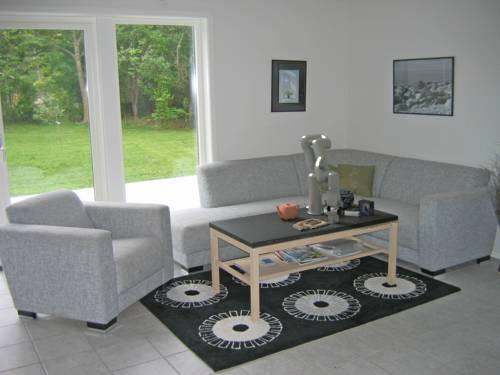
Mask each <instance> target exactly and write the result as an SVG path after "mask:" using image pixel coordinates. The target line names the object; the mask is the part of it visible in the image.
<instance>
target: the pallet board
mask: <svg viewBox="0 0 500 375" xmlns="http://www.w3.org/2000/svg"><path fill="white" fill-rule="evenodd" d="M298 222H299V221H298ZM298 222H296V223H295V224H297V223H298ZM300 222H303V224H306V225H308V229H309V228H311V229H310V230H313V229H312V228H315V229H318V228H322V227H324V226H325V227H326V226H329V225H330V223H329V222H328V221H323V220H321V219H316V218H314V217H313V218H309V219H306V220H301V221H300ZM328 224H329V225H328ZM321 226H322V227H321ZM317 227H318V228H317Z"/></svg>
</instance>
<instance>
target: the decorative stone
mask: <svg viewBox="0 0 500 375" xmlns="http://www.w3.org/2000/svg"><path fill="white" fill-rule="evenodd" d="M339 192H340V199H341V202H342V203H343V207H342V209H348V208H351V207H352V205H354V202H355V196H354V193H353V192H352V191H351V190H349V189H346V188H339ZM340 205H341V204H340ZM338 207H339V206H338Z"/></svg>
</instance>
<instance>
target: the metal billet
mask: <svg viewBox="0 0 500 375" xmlns="http://www.w3.org/2000/svg"><path fill="white" fill-rule="evenodd" d="M339 216H340V215H337V209H336V210H335V209H333V210H332V209H331V211H328V213H327V222H328V223H329V224H332V225H333V224H337V223H339Z"/></svg>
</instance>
